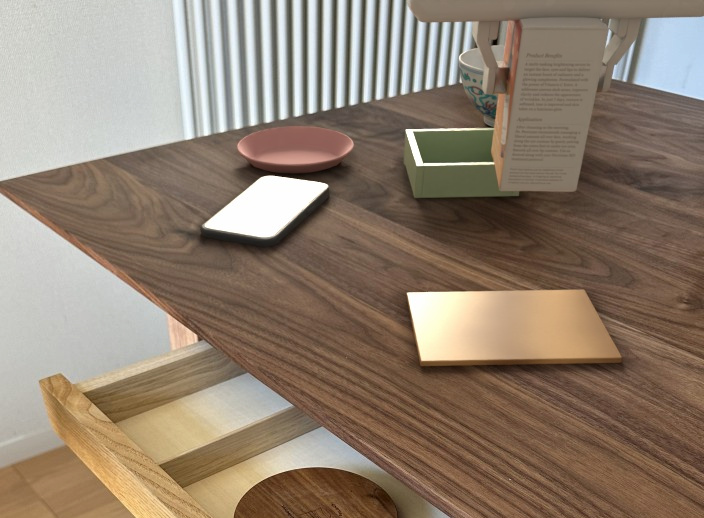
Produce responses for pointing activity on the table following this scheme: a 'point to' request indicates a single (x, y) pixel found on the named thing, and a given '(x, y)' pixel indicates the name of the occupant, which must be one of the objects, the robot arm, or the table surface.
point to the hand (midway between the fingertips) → (545, 91)
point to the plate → (295, 149)
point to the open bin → (451, 163)
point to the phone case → (266, 211)
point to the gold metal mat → (509, 328)
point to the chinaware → (479, 81)
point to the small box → (547, 102)
